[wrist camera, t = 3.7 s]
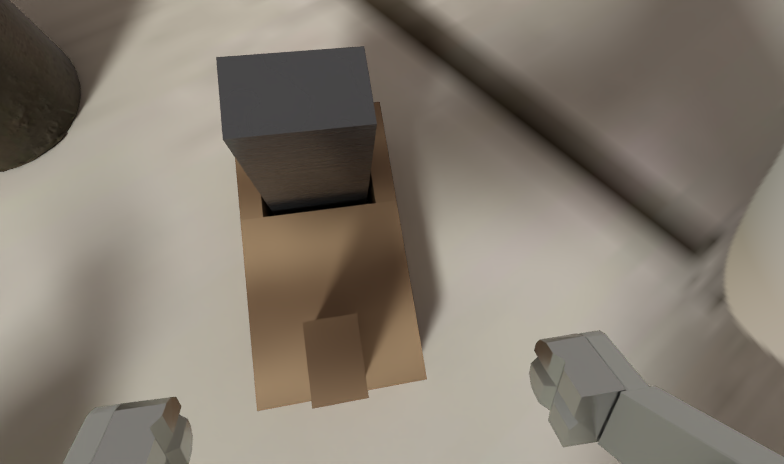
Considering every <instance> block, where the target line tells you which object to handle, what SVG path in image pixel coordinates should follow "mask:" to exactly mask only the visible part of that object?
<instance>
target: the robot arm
mask: <svg viewBox="0 0 784 464" xmlns="http://www.w3.org/2000/svg"><path fill="white" fill-rule="evenodd" d="M534 351H535V353H536V355H537V356H538V357H537V358H536V359H535V360H534V361H533V362H532V363H531V366H530V372H529V375H530V382H531V386H532V389H533V392H534V394H535V396H536V398H537V400H538V402H539V403H540V404H541V405H543V406H544V407H546V408H547V409H548V410H550V412H549V418H548V421H549V423H550V424H551V426H552V428H553V430H554V432H555V434H556V435H557V437H558V439H559V441H560V443H561V445H562V446H563V447H568V446H574V445H580V444H587V443H593V442H598V444H599V445H600V446H601V447H603V448H604V449H605V450H606V451H607V452H609V453H610V454H611V455H612V456H613V457H615V458H616V459H617V460H618V461H620V462H621V463H622V464H784V457H783V456H781V455H779V454H778V453H776V452H774V451H772V450H770V449H769V448H767V447H765V446H763V445H761V444H760V443H758V442H756V441H754V440H752V439H751V438H749V437H747V436H745V435H743V434H741V433H740V432H738V431H736V430H734V429H732V428H731V427H729V426H727V425H725V424H723V423H722V422H720V421H718V420H716V419H714V418H713V417H711V416H709V415H707V414H705V413H704V412H702V411H700V410H698V409H696V408H695V407H693V406H691V405H689V404H687V403H686V402H684V401H682V400H680V399H678V398H676V397H675V396H673V395H671V394H669V393H667V392H666V391H664V390H662V389H660V388H658V387H657V386H650V387H649V386H648V385H647V383H646V382H645V381H644V380H643V379H642V377H641V376H640V375H639V374H638V373H637V371H636V370H635V369H634V368H633V367H632V365H631V364H630V363H629V362H628V361H627V359H626V358H625V357H624V356H623V355H622V353H621V352H620V351H619V350H618V349H617V347H616V346H615V345H614V344H613V343H612V341H611V340H610V339H609V338H608V337H607V335H606V334H605V333H603V332H601V331H600V330H599V331H592V332H586V333H580V334H577V333H576V334H570V335H564V336H558V337H553V338H547V339H541V340H539V341H538V342H537V343H536V346H535V350H534ZM180 409H181V405H180V403H179V401H178V399H177V398H176V397H170V398H162V399H154V400H146V401H138V402H131V403H123V404H116V405H109V406H102V407H95V408H94V409H93V410H92V411H91V412H90V413H89V414H88V415H87V416H86V418H85V420H84V422H83V424H82V426H81V428H80V430H79V432H78V434H77V436H76V438H75V440H74V442H73V444H72V446H71V448H70V450H69V452H68V454H67V456H66V458H65V460H64V462H63V464H189V461H190V457H191V453H192V439H193V435H192V430H191V425H190V423H189V421H188V419H187V418H185V417H183V416H181V415H179V413H180Z"/></svg>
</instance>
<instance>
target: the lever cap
mask: <svg viewBox="0 0 784 464" xmlns="http://www.w3.org/2000/svg"><path fill="white" fill-rule="evenodd" d="M216 60H217V72H218V84H219V97H220V109H221V121H222V134H223V140H224V142H225V143H226V145H227V146H228V148H229V149H230V151H231V152H232V153H233V155H234V156H235V158H236V159H237V161H238V162H239V164H240V165H241V167H242V168H243V170H244V171H245V173H246V174H247V175H248V177H249V178H250V180H251V181H252V183H253V184H254V186H255V187H256V189H257V190H258V192H259V193H260V195H261V196H262V198H263V199H264V200H265V202H266V203H267V205H268V206H269V208H270V209H271V211H272V212H273V214H274V215H275V216H278V215H285V214H293V213H301V212H309V211H317V210H325V209H333V208H341V207H349V206H357V205H365V204H366V202H367V195H368V187H369V180H370V172H371V165H372V158H373V150H374V143H375V135H376V128H377V121H376V115H375V109H374V103H373V97H372V91H371V85H370V79H369V73H368V67H367V61H366V55H365V49H364V46H362V47H348V48H335V49H322V50H308V51H295V52H281V53H268V54H254V55H241V56H227V57H216Z"/></svg>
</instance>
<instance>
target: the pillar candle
mask: <svg viewBox="0 0 784 464" xmlns="http://www.w3.org/2000/svg"><path fill="white" fill-rule="evenodd" d="M79 100H80V83H79V80H78V76H77V73H76V70H75V68H74V66H73V65H72V63H71V61H70V60H69V59H68V57H67V56H66V55H65V54H64V53H63V52H62V50H61V49H60V48H58V47H57V46H56V45H55V44H54V43H53V42H52V41H51V40H50V39H49V38H48V37H47V36H46V35H45V34H44V33H43V32H42V31H41V30H40V29H39V28H38V27H37V26H36V25H35V24H34V23H33V22H32V21H31V20H30V19H29V18H28V17H26V16H25V15H24V14H23V13H22V12H21V11H20V10H19V9H18V8H17V7H16V6H15V5H14V4H13V3H12V2H11V1H10V0H0V172H4V171H7V170H8V169H13V168H17V167H19V166H22V165H24V164H26V163H28V162H31V161H33V160H34V159H35V158H37V157H38V156H41V154H42V153H45V152H46V151H48V150H49V149H51V148H52V147H53V146H54V145H55V144H57V143H58V142H59V141H60V140H61V139H62V137H63V136H64V135H65V133H66V132H67V130H68V129H69V127H70V125H71V123H72V121H73V119H74V118H75V115H76V113H77V110H78V105H79Z"/></svg>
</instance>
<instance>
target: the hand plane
mask: <svg viewBox="0 0 784 464" xmlns="http://www.w3.org/2000/svg"><path fill="white" fill-rule="evenodd" d="M374 109H375V115H376V121H377V128H376V135H375V143H374V150H373V158H372V165H371V172H370V180H369V187H368V200H369V204H365V205H357V206H349V207H341V208H333V209H325V210H317V211H309V212H301V213H293V214H285V215H278V216H275V215H274V214H273V212H272V211H271V209H270V208H269V206H268V205H267V203H266V202H265V200H264V199H263V198H262V196H261V195H260V193H259V192H258V190H257V189H256V187H255V186H254V184H253V183H252V181H251V180H250V178H249V177H248V175H247V174H246V173H245V171H244V170H243V168H242V167H241V165H240V164H239V162H238V161H237V159H236V158H235V162H236V173H237V185H238V196H239V208H240V219H241V231H242V242H243V254H244V265H245V277H246V288H247V300H248V311H249V323H250V334H251V346H252V357H253V369H254V380H255V392H256V403H257V411H260V410H266V409H271V408H276V407H282V406H287V405H292V404H297V403H303V402H308V401H312V409H313V408H318V407H323V406H329V405H334V404H339V403H344V402H349V401H355V400H360V399H365V398H369V396H368V390H372V389H377V388H383V387H388V386H393V385H399V384H404V383H409V382H414V381H420V380H425V379H427V377H426V371H425V365H424V359H423V353H422V347H421V342H420V336H419V330H418V324H417V318H416V312H415V306H414V301H413V295H412V289H411V283H410V277H409V271H408V265H407V260H406V254H405V248H404V242H403V236H402V230H401V224H400V219H399V213H398V207H397V201H396V195H395V189H394V183H393V178H392V172H391V166H390V160H389V154H388V148H387V142H386V137H385V131H384V125H383V119H382V113H381V107H380V102H374Z"/></svg>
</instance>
